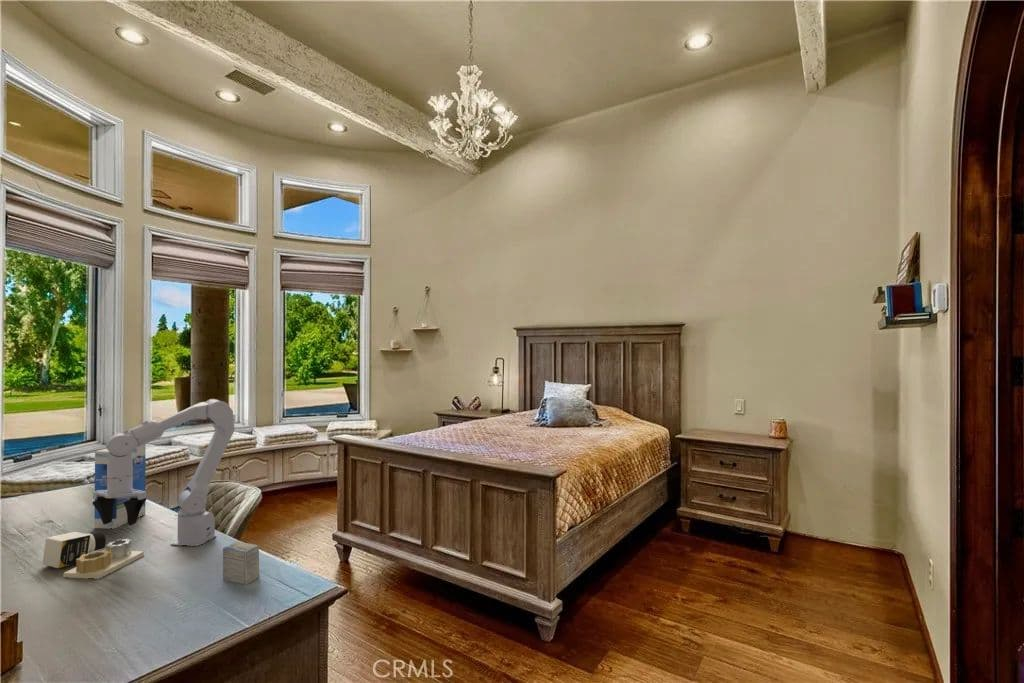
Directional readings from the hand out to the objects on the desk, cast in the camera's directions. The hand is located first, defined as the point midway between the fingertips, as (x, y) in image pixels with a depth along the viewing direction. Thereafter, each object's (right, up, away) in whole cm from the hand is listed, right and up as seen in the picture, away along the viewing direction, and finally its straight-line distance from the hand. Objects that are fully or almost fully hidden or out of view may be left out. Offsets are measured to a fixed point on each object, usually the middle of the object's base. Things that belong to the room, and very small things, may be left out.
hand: (119, 523), depth 138 cm
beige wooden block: (+42, -10, -12) cm, 45 cm away
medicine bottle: (-13, -6, -7) cm, 16 cm away
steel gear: (+1, -9, -1) cm, 9 cm away
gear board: (0, -10, -5) cm, 11 cm away
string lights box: (-23, -10, +28) cm, 38 cm away
